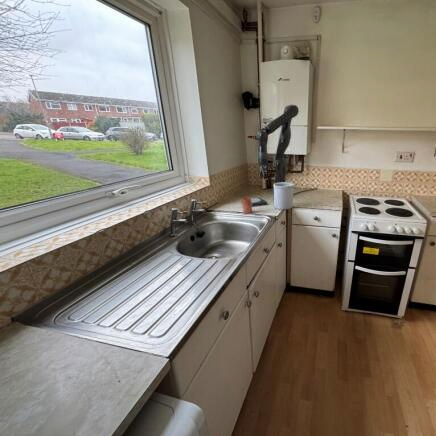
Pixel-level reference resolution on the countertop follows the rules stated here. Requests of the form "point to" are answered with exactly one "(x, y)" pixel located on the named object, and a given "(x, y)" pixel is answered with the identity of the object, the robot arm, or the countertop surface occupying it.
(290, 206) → the utensil holder
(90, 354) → the countertop surface
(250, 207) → the cup
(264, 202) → the kitchen scale
